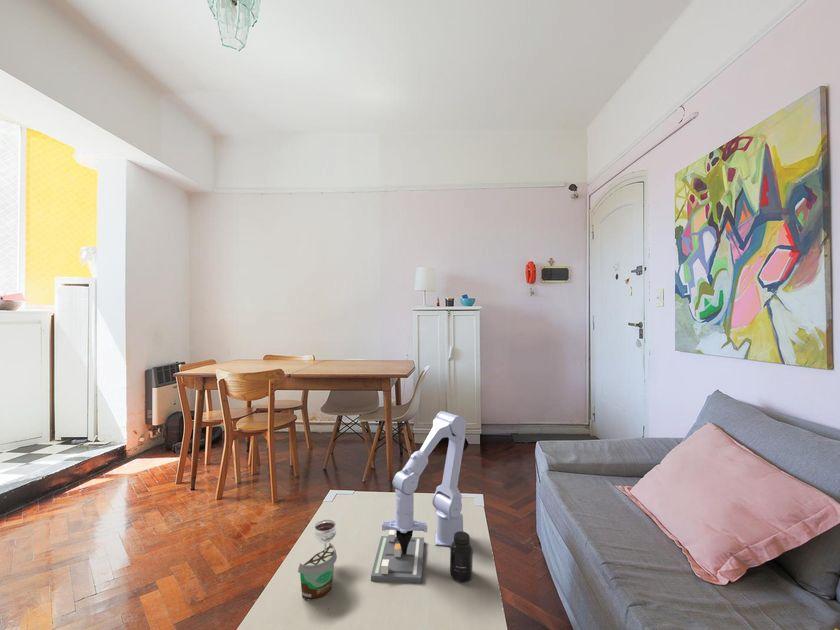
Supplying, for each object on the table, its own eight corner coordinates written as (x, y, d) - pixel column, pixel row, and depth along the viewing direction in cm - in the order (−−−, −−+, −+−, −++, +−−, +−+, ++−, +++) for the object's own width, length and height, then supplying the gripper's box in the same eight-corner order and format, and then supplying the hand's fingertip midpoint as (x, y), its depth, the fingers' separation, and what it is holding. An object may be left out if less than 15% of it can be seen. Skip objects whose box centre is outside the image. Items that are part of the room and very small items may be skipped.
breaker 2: (395, 536, 130) (395, 529, 130) (394, 541, 127) (394, 534, 127) (389, 536, 130) (389, 529, 130) (388, 541, 127) (388, 534, 127)
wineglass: (309, 567, 116) (309, 528, 116) (322, 554, 123) (322, 517, 123) (327, 572, 114) (328, 533, 114) (340, 559, 120) (340, 521, 120)
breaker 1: (389, 567, 114) (389, 559, 114) (387, 574, 111) (387, 566, 111) (382, 567, 114) (382, 559, 114) (381, 573, 111) (381, 565, 111)
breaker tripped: (401, 551, 122) (401, 543, 122) (400, 557, 119) (400, 549, 119) (395, 551, 122) (395, 543, 122) (394, 556, 119) (394, 549, 119)
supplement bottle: (458, 586, 109) (458, 544, 109) (445, 571, 115) (445, 532, 115) (477, 578, 112) (477, 538, 112) (464, 564, 118) (464, 526, 118)
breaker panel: (424, 541, 130) (424, 537, 130) (421, 582, 110) (421, 577, 110) (381, 540, 131) (381, 535, 131) (370, 580, 111) (370, 575, 111)
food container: (313, 610, 99) (313, 572, 99) (297, 601, 103) (297, 564, 103) (345, 582, 110) (345, 548, 110) (330, 574, 113) (330, 541, 113)
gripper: (380, 516, 116) (380, 559, 116) (426, 517, 116) (426, 561, 116) (383, 504, 124) (383, 545, 123) (427, 506, 123) (427, 547, 123)
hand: (404, 552), depth 120 cm, fingers closed
